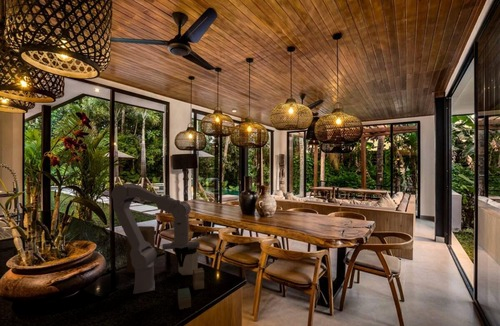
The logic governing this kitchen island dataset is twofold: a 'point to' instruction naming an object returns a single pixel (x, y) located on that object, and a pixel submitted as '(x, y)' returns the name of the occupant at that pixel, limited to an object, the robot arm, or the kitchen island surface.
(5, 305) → the kitchen island surface
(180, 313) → the kitchen island surface
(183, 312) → the kitchen island surface
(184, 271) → the jar
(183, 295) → the teal face block
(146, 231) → the block
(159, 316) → the kitchen island surface
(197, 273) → the rust face block
